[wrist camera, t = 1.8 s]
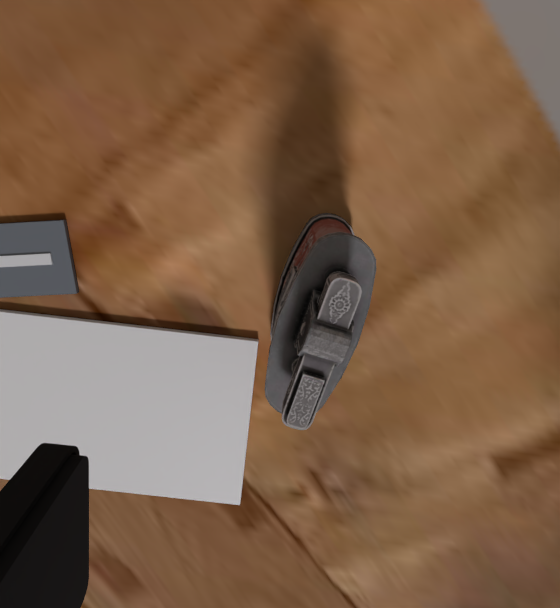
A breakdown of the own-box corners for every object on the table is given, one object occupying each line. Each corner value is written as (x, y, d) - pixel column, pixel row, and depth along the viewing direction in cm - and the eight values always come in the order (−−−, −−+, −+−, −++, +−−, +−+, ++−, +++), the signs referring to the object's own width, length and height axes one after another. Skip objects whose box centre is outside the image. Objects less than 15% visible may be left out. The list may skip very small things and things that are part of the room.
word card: (65, 219, 26) (62, 220, 26) (79, 291, 27) (76, 293, 27) (-45, 225, 26) (-50, 226, 26) (-27, 297, 27) (-31, 299, 27)
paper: (258, 339, 28) (258, 341, 27) (240, 500, 31) (239, 505, 31) (-7, 308, 28) (-11, 310, 27) (2, 474, 31) (-1, 478, 30)
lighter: (304, 204, 26) (314, 232, 16) (365, 224, 26) (410, 263, 16) (259, 341, 28) (243, 437, 18) (315, 358, 28) (329, 462, 19)
